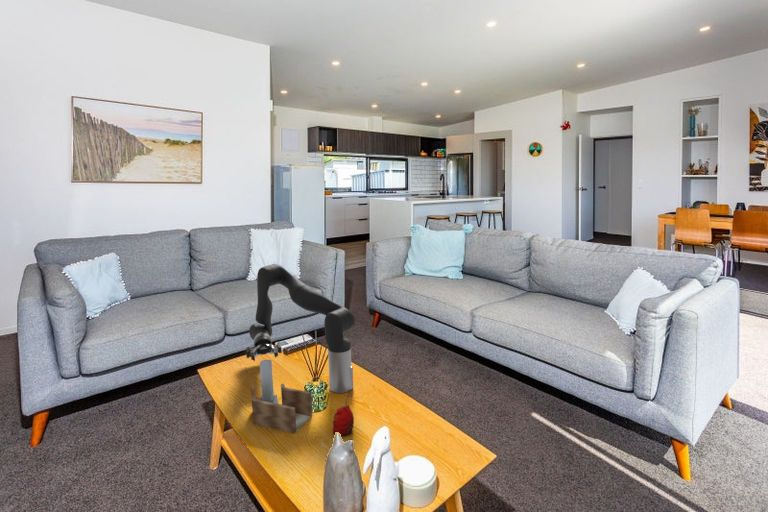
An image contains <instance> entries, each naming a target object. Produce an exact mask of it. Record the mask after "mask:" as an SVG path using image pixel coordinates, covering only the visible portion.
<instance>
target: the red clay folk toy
mask: <svg viewBox="0 0 768 512" xmlns="http://www.w3.org/2000/svg"><path fill="white" fill-rule="evenodd" d="M343 395H344V396H345V397H346V399H345V400H346V401H344V403H345V405H343V406H341V407H339V408H337V409H336V411H335V413H334V415H333V421H332V433H333V434H334V433H335V432H339V433H340V434H341V436H347V435H351V434H352V432H353V429H354V423H355V419H354V414H353V412H352V409H351V408H350V405H348V398H352V397H353V394H352V393H351V394H350V392H348V394H345V393H344V394H343Z"/></svg>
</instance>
